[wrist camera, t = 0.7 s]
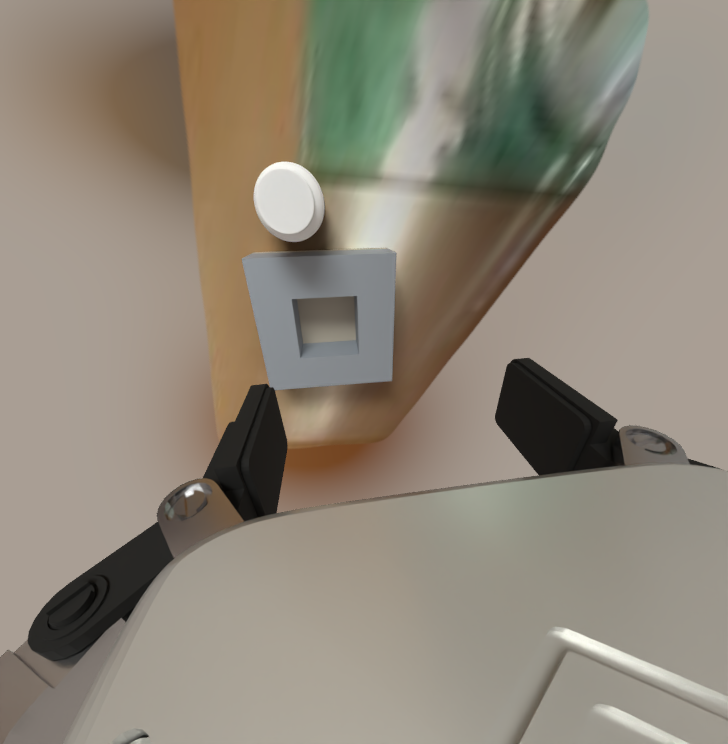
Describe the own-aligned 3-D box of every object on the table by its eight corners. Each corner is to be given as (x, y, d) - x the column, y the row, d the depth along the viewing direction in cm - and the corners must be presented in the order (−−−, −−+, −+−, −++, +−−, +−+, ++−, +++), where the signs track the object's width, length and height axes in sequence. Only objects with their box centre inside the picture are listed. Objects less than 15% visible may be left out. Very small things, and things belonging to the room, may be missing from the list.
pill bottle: (282, 243, 29) (263, 254, 20) (259, 182, 26) (228, 166, 18) (331, 228, 29) (334, 234, 20) (314, 166, 26) (309, 142, 18)
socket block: (254, 252, 29) (241, 258, 25) (386, 247, 30) (396, 252, 26) (277, 369, 36) (271, 390, 32) (384, 361, 37) (392, 380, 33)
